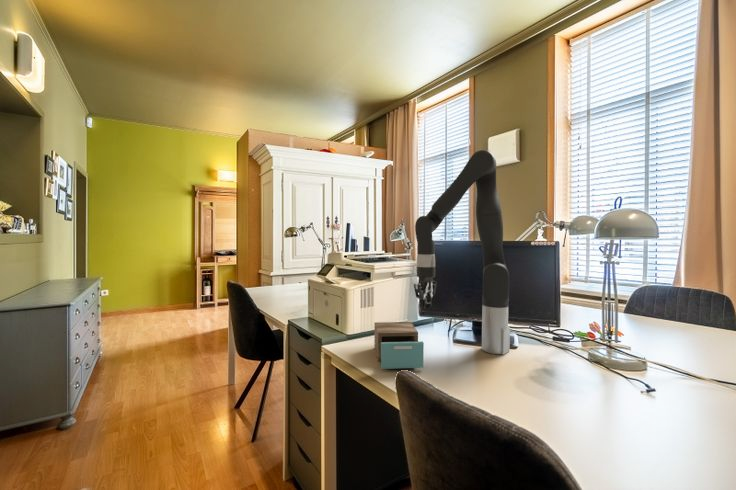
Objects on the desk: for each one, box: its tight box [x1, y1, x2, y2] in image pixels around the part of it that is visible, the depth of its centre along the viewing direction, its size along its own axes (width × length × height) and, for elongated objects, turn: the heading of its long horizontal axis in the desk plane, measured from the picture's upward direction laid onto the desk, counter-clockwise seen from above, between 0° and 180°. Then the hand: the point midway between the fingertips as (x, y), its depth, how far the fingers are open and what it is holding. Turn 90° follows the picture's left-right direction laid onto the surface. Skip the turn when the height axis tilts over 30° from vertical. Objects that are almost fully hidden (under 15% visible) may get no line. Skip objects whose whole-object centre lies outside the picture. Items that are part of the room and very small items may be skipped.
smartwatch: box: [418, 296, 431, 309], centre depth 146 cm, size 4×5×5 cm
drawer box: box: [373, 321, 419, 362], centre depth 132 cm, size 14×14×10 cm
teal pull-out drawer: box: [380, 341, 425, 370], centre depth 122 cm, size 14×14×8 cm
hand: (425, 307), depth 146 cm, fingers closed on smartwatch, 4 cm apart
